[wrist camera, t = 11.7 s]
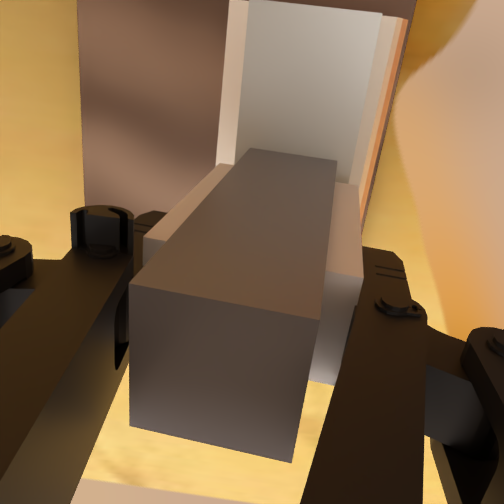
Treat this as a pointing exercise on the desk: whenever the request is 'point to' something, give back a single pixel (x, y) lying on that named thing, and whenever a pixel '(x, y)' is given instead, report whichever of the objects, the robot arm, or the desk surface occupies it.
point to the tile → (374, 103)
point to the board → (164, 95)
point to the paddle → (255, 243)
